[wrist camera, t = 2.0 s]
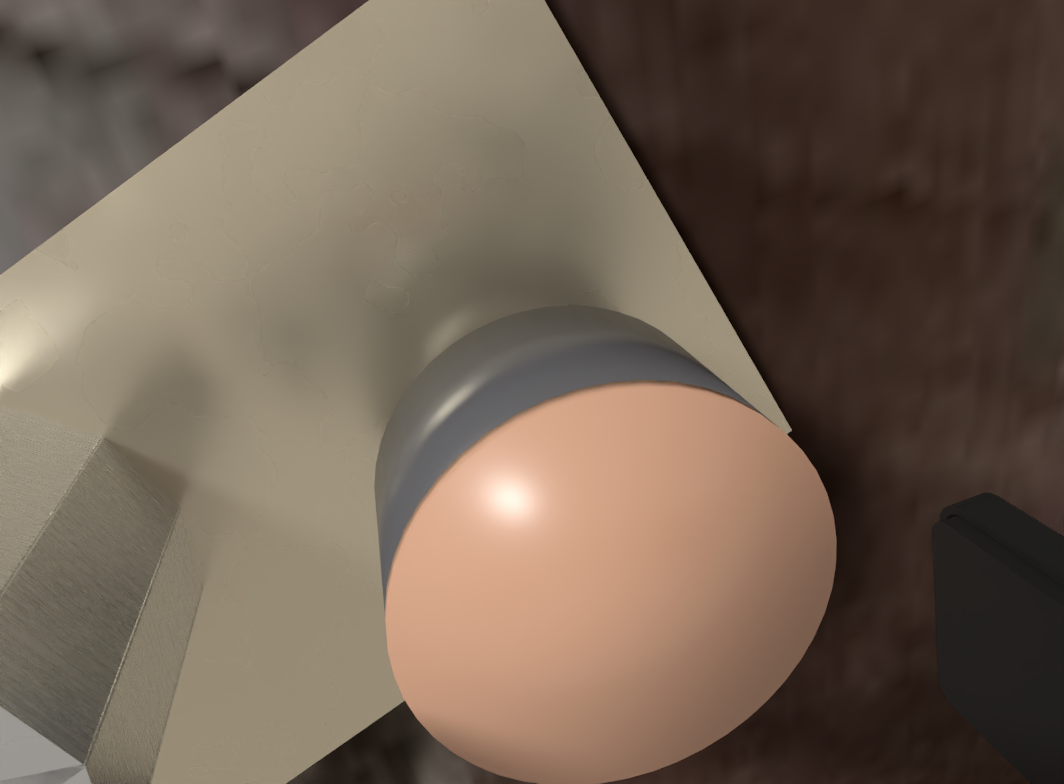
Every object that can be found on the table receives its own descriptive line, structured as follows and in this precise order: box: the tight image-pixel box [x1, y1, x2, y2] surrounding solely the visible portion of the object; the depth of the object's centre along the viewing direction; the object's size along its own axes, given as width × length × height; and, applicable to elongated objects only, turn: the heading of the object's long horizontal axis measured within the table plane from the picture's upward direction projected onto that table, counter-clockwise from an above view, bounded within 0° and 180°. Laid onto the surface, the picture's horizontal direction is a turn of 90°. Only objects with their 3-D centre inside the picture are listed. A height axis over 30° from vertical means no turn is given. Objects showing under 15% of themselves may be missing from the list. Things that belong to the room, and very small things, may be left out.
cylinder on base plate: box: [0, 0, 792, 784], centre depth 15 cm, size 21×13×8 cm, turn 124°
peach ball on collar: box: [374, 305, 837, 784], centre depth 15 cm, size 7×7×7 cm
